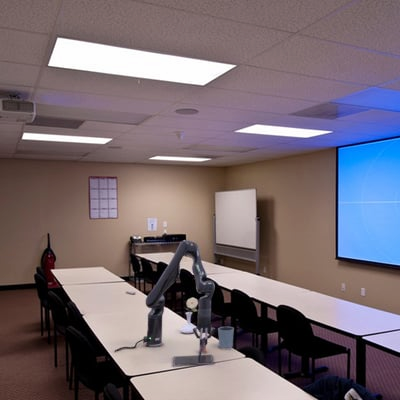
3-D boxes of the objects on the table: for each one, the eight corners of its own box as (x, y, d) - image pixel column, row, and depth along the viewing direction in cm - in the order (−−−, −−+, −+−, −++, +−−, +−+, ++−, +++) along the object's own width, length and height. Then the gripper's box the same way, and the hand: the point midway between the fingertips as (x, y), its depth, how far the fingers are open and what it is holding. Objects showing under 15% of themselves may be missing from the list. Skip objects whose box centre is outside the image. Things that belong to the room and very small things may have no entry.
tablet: (173, 366, 235) (173, 364, 235) (174, 357, 249) (174, 356, 249) (213, 364, 239) (213, 362, 239) (211, 355, 253) (211, 354, 253)
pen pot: (199, 353, 257) (199, 340, 257) (199, 351, 260) (199, 338, 261) (205, 353, 257) (206, 340, 258) (205, 351, 261) (205, 338, 261)
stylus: (197, 359, 244) (203, 337, 245) (197, 358, 245) (203, 336, 246) (199, 359, 244) (205, 337, 245) (199, 359, 245) (205, 337, 246)
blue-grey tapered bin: (221, 350, 263) (221, 331, 263) (215, 346, 272) (215, 327, 272) (236, 348, 268) (236, 329, 268) (230, 343, 276) (230, 325, 277)
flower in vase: (177, 333, 299) (177, 297, 300) (186, 329, 310) (186, 295, 310) (193, 335, 294) (193, 299, 295) (201, 331, 305) (202, 296, 305)
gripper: (215, 313, 251) (214, 343, 250) (192, 313, 248) (191, 343, 248) (216, 316, 243) (215, 347, 243) (192, 317, 241) (191, 347, 240)
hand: (203, 345), depth 245 cm, fingers closed on stylus, 1 cm apart
